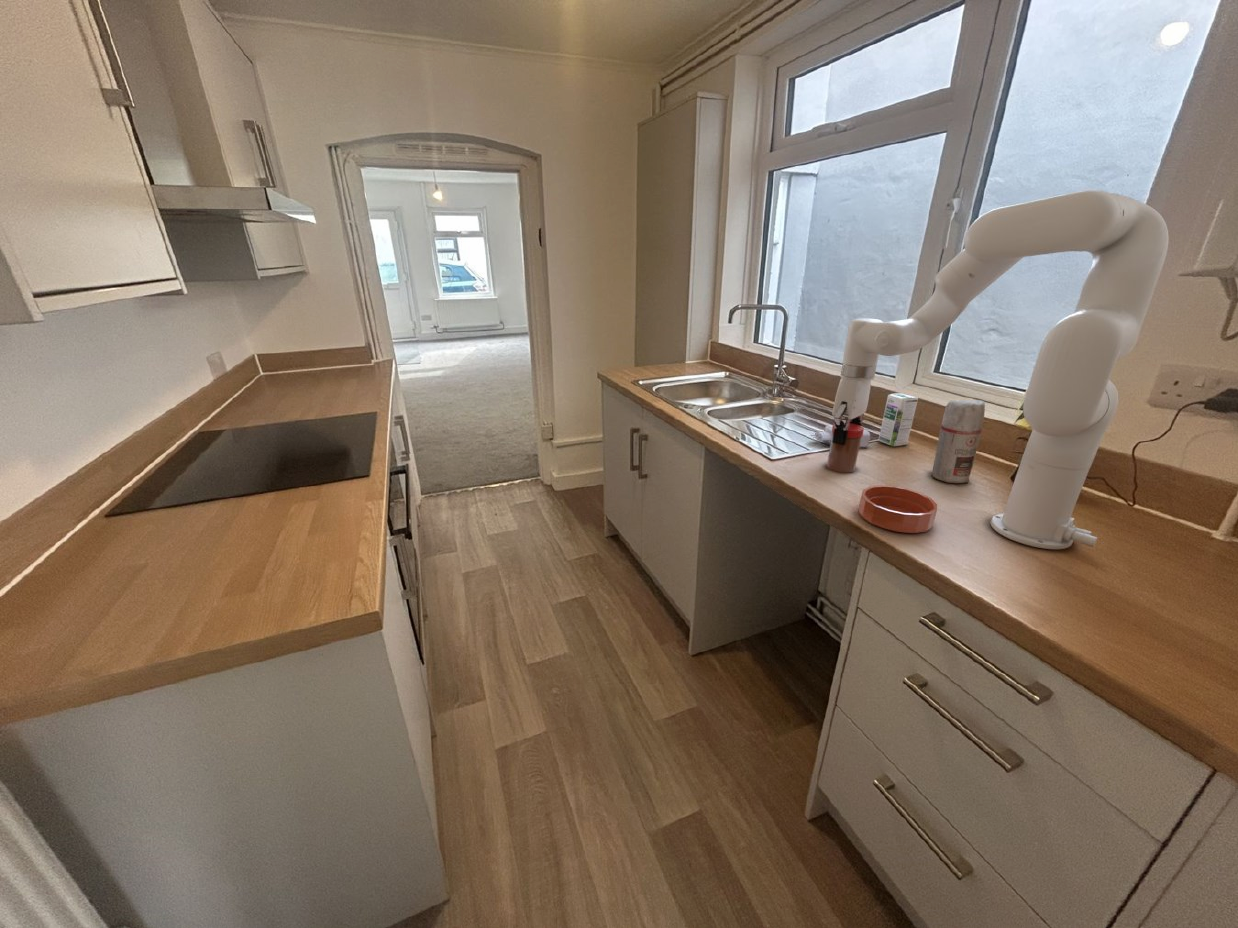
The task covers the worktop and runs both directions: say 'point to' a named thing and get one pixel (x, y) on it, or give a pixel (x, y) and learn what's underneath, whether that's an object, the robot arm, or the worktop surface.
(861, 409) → the robot arm
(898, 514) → the dish
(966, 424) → the spray can
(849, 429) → the lid
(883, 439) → the syrup box
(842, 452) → the jar
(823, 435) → the charger
